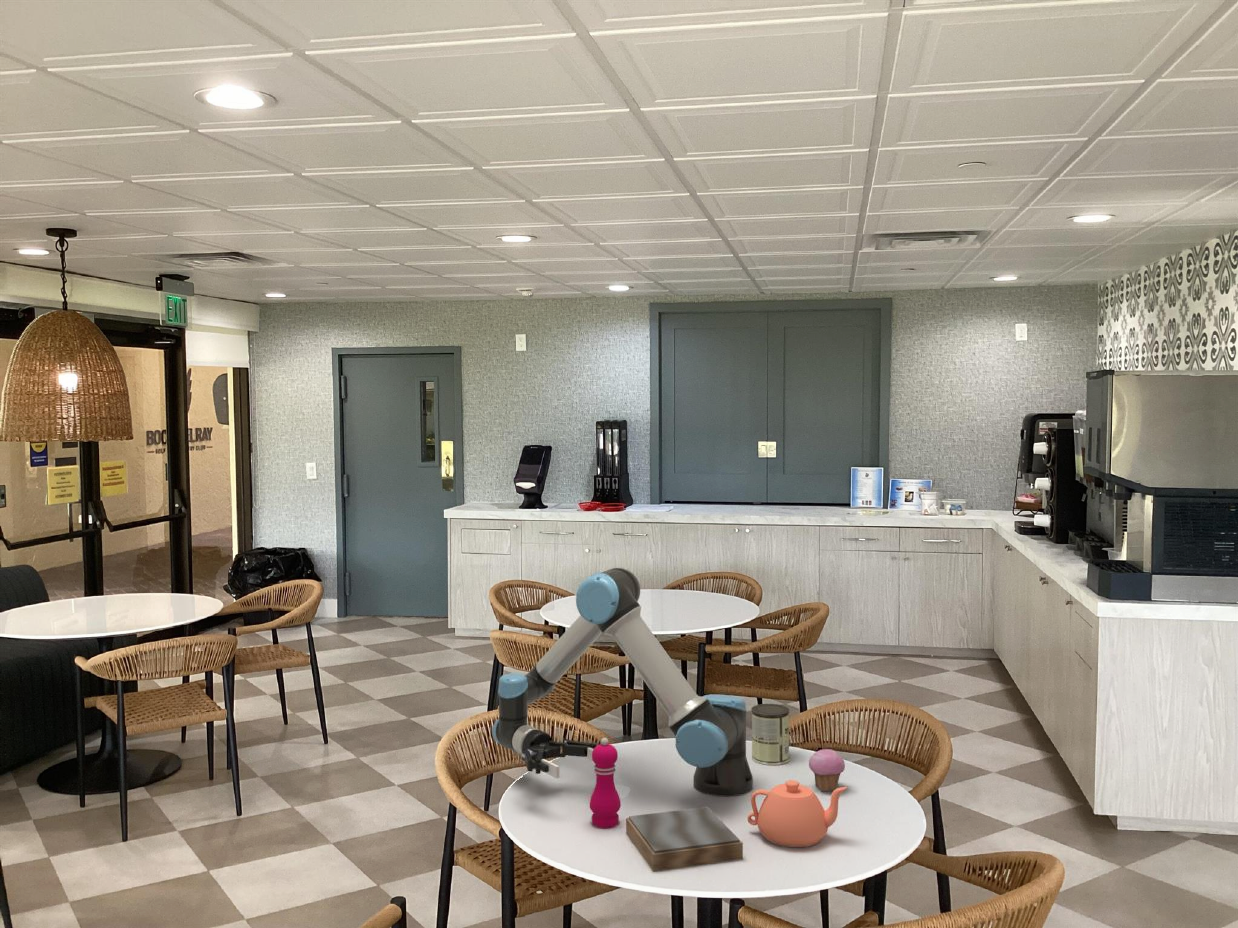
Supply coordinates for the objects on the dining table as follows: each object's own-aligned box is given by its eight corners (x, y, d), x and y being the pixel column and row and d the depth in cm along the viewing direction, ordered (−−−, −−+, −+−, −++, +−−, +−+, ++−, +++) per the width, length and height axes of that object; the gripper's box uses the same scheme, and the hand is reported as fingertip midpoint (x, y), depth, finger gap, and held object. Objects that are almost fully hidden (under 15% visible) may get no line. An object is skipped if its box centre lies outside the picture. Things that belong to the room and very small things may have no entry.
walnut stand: (708, 822, 229) (708, 805, 229) (742, 858, 210) (742, 840, 210) (626, 832, 224) (626, 815, 224) (653, 871, 205) (653, 852, 204)
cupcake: (839, 782, 254) (839, 744, 254) (848, 795, 246) (848, 755, 245) (805, 783, 254) (805, 745, 254) (812, 796, 245) (812, 756, 245)
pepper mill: (625, 818, 232) (624, 734, 231) (614, 830, 225) (614, 744, 224) (596, 814, 234) (595, 731, 234) (585, 826, 228) (584, 741, 227)
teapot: (847, 827, 226) (847, 773, 226) (847, 856, 211) (847, 798, 211) (750, 819, 231) (750, 766, 231) (744, 847, 216) (743, 791, 216)
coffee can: (750, 752, 278) (750, 702, 278) (787, 753, 277) (787, 703, 277) (752, 764, 268) (752, 713, 268) (790, 766, 267) (790, 714, 266)
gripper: (573, 748, 261) (622, 769, 244) (491, 768, 246) (537, 793, 229) (573, 719, 261) (622, 739, 244) (490, 738, 245) (537, 761, 229)
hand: (581, 765), depth 236 cm, fingers open, 13 cm apart
